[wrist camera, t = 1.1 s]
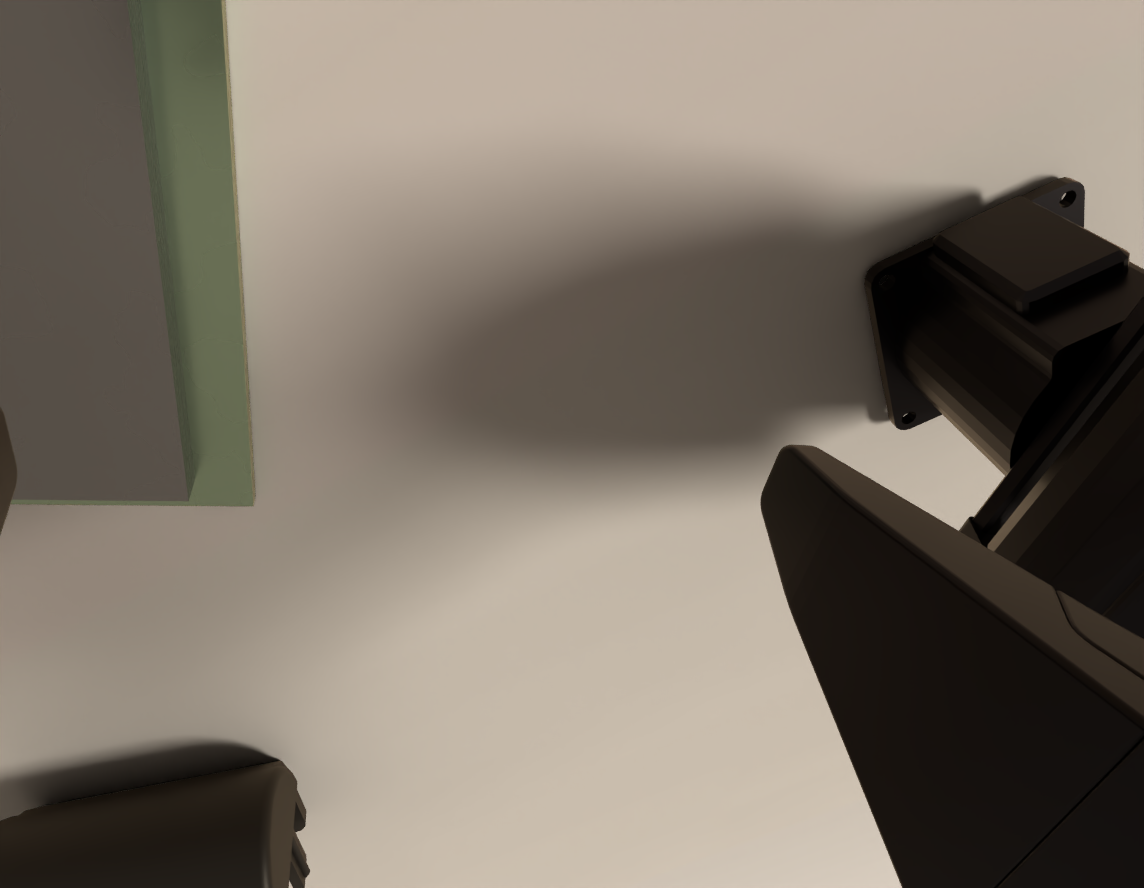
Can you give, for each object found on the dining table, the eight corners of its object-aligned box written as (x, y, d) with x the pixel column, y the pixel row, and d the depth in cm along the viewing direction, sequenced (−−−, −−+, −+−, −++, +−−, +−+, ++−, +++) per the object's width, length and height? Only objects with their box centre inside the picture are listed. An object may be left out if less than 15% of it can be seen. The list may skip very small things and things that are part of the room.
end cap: (280, 716, 30) (259, 901, 25) (320, 813, 34) (310, 988, 29) (-4, 768, 29) (-90, 976, 23) (75, 862, 33) (18, 1056, 28)
